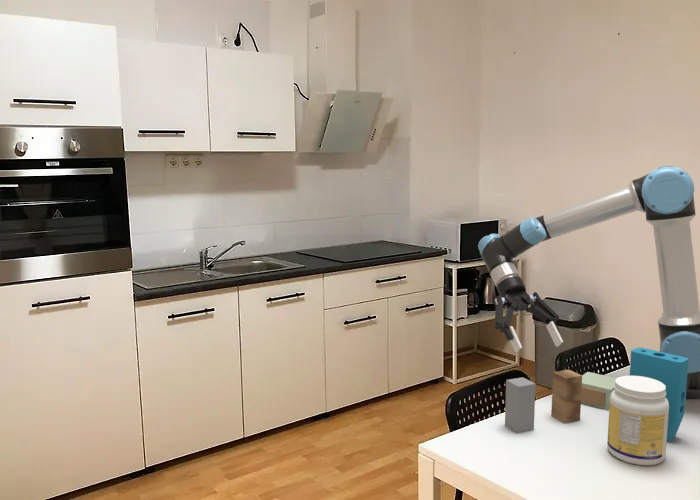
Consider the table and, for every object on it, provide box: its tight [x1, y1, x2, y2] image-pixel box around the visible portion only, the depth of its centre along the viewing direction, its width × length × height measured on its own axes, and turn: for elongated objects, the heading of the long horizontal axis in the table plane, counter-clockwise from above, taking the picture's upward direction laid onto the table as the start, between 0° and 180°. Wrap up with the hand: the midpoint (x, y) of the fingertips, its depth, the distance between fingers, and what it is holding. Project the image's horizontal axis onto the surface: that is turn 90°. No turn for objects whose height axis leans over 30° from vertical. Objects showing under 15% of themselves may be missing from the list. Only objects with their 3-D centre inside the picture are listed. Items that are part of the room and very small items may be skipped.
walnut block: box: [550, 369, 583, 425], centre depth 162 cm, size 5×5×12 cm
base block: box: [581, 371, 618, 411], centre depth 174 cm, size 10×10×6 cm
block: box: [629, 347, 689, 443], centre depth 152 cm, size 12×5×20 cm, turn 40°
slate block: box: [504, 377, 537, 434], centre depth 156 cm, size 5×5×12 cm
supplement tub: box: [606, 375, 669, 466], centre depth 141 cm, size 12×12×17 cm
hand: (539, 347), depth 170 cm, fingers open, 13 cm apart
